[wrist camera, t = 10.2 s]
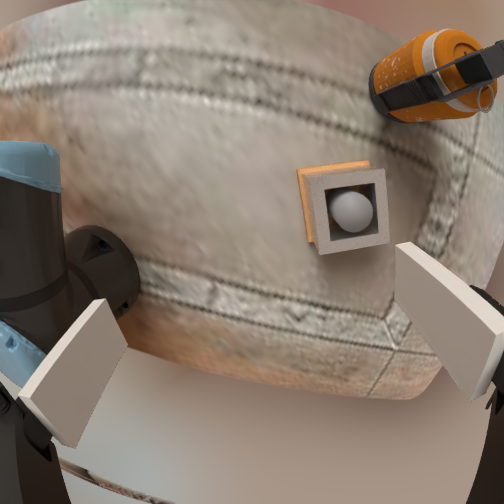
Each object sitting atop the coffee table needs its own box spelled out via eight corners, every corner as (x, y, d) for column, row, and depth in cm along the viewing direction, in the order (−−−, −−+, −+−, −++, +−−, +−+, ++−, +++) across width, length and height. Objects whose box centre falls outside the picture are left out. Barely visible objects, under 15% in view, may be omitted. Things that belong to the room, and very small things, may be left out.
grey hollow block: (311, 237, 35) (319, 255, 29) (301, 173, 32) (309, 178, 26) (371, 227, 34) (389, 242, 28) (365, 164, 31) (384, 168, 25)
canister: (436, 107, 28) (544, 98, 10) (379, 142, 31) (485, 146, 12) (401, 51, 26) (493, 1, 7) (340, 82, 29) (417, 21, 10)
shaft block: (307, 239, 36) (316, 261, 29) (296, 169, 33) (304, 174, 26) (372, 228, 35) (395, 247, 28) (366, 160, 32) (390, 164, 25)
